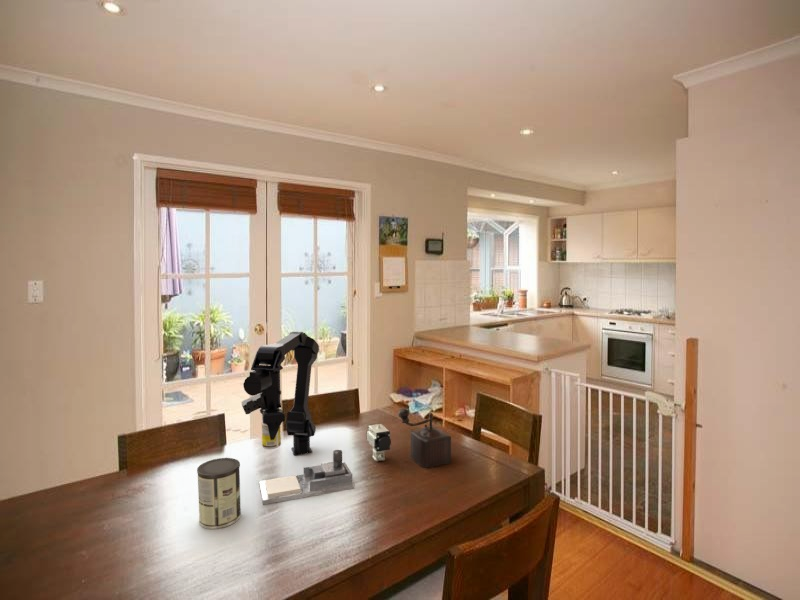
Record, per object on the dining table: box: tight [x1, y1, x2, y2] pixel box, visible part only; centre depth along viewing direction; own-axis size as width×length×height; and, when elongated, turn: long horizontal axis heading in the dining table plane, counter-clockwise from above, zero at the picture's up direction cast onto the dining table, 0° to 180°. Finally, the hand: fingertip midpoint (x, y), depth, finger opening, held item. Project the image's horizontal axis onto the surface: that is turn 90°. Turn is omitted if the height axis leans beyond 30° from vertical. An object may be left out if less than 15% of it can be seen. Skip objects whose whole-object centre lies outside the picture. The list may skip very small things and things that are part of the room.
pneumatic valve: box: [365, 422, 392, 463], centre depth 156 cm, size 6×12×12 cm, turn 23°
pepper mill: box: [397, 407, 452, 469], centre depth 154 cm, size 16×11×18 cm
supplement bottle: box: [261, 420, 282, 450], centre depth 142 cm, size 6×6×10 cm
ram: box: [312, 449, 345, 480], centre depth 138 cm, size 7×9×8 cm
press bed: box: [264, 474, 300, 497], centre depth 134 cm, size 9×9×1 cm
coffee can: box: [196, 457, 242, 530], centre depth 119 cm, size 10×10×14 cm
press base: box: [259, 461, 355, 505], centre depth 136 cm, size 12×26×4 cm, turn 111°
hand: (271, 436), depth 142 cm, fingers closed on supplement bottle, 6 cm apart
